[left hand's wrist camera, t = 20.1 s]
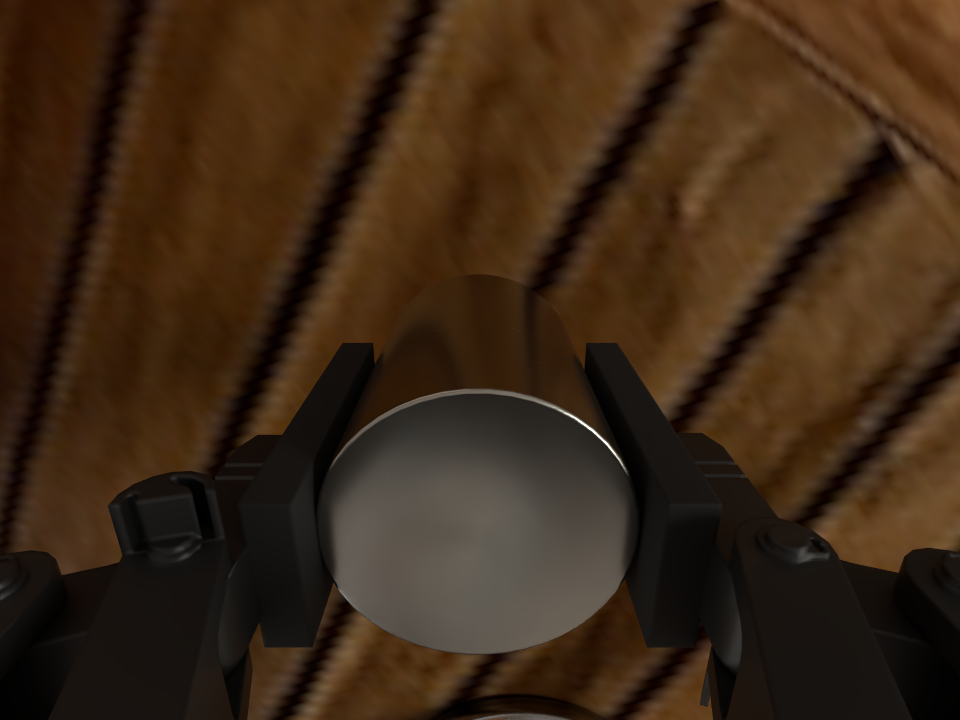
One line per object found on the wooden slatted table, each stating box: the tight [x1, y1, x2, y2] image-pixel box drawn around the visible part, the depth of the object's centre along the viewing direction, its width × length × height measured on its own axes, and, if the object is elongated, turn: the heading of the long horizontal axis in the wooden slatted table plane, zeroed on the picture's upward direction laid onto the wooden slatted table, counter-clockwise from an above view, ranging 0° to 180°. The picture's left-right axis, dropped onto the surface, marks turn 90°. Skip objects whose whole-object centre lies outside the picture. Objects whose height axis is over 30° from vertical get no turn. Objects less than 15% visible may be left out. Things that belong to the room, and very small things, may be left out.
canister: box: [316, 275, 641, 655], centre depth 12 cm, size 5×5×7 cm
